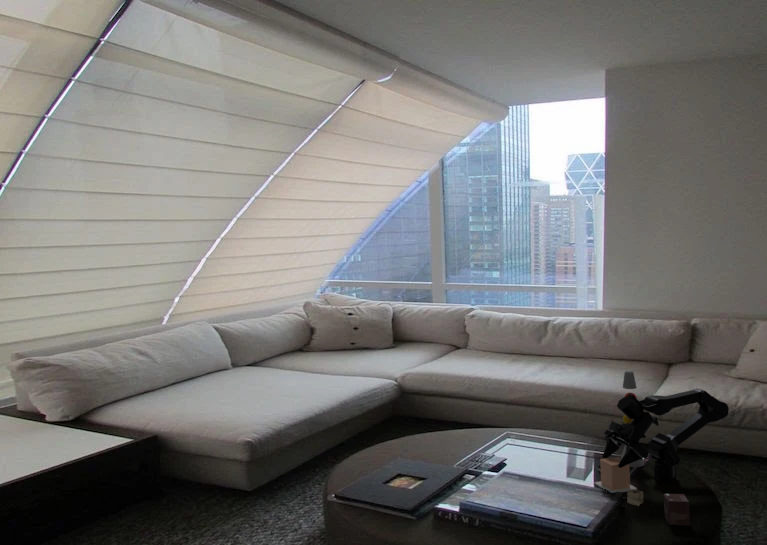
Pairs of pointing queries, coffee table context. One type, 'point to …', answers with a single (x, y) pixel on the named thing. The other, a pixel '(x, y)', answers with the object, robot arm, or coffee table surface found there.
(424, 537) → the coffee table surface
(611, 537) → the coffee table surface
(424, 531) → the coffee table surface
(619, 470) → the tan block
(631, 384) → the lava lamp
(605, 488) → the mat
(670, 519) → the box
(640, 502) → the marked cube
